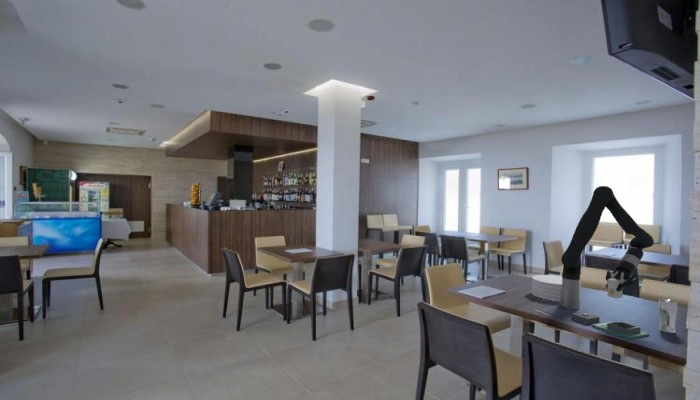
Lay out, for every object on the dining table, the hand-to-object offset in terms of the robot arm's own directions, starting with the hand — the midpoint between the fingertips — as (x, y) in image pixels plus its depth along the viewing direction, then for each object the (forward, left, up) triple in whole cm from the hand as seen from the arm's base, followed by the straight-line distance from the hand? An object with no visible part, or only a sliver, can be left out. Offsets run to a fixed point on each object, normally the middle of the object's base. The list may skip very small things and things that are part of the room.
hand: (612, 289), depth 187 cm
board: (+8, -7, -18) cm, 21 cm away
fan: (-8, -9, -18) cm, 22 cm away
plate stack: (-48, +18, -18) cm, 55 cm away
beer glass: (+16, +16, -18) cm, 29 cm away
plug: (0, +2, -4) cm, 5 cm away
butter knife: (-18, -19, -19) cm, 32 cm away
